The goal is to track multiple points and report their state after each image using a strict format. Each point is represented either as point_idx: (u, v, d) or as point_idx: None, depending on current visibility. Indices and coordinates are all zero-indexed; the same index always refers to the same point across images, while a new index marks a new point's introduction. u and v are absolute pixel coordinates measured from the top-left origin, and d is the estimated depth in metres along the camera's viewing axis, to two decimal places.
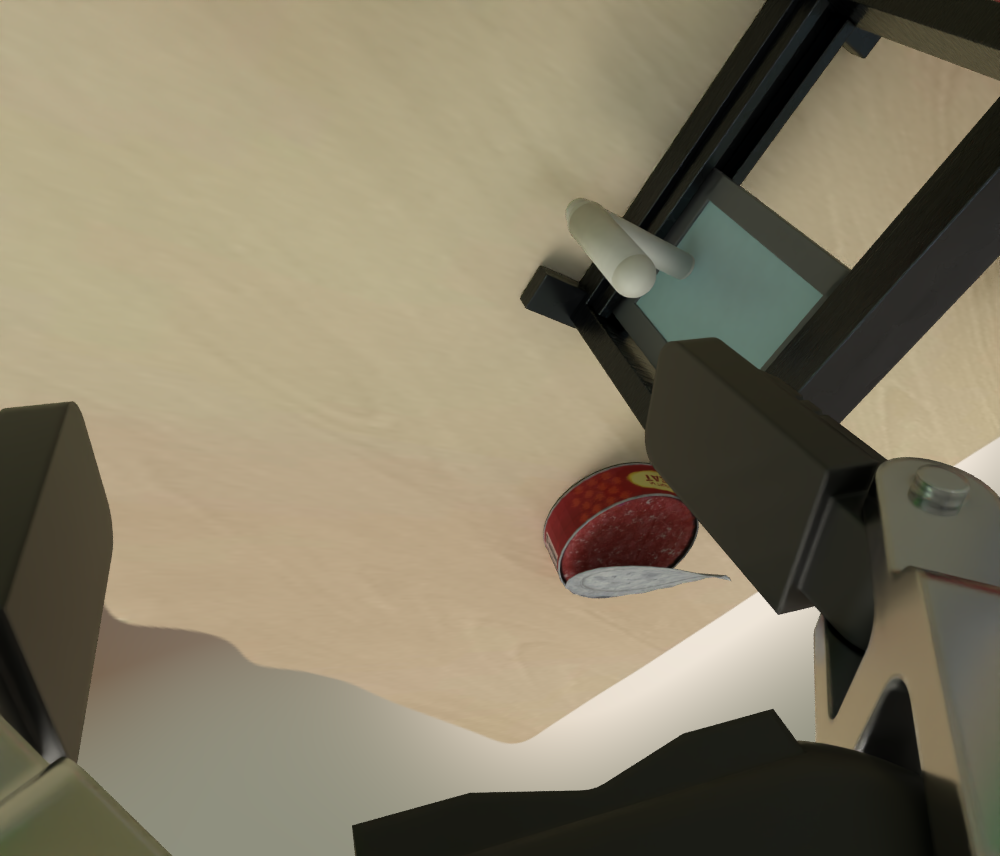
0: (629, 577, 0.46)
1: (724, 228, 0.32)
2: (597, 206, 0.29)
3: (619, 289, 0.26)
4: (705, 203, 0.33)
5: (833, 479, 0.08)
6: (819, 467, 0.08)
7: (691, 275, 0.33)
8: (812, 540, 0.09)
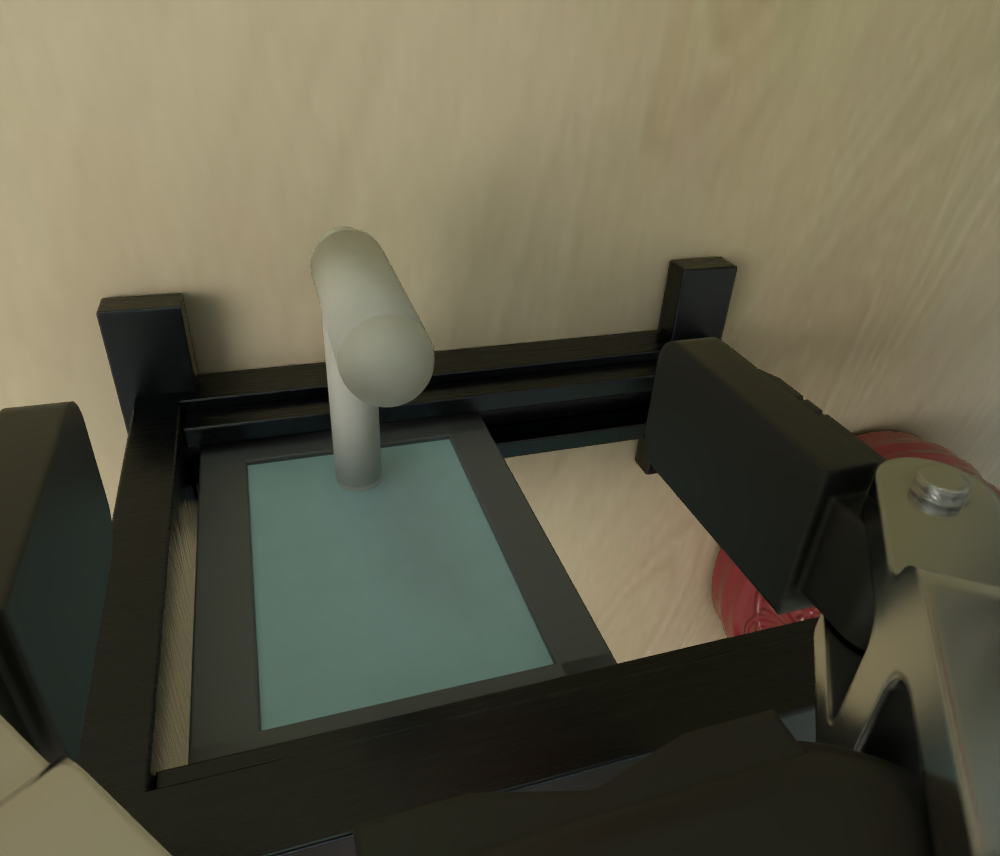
0: None
1: (448, 479, 0.20)
2: None
3: (353, 349, 0.12)
4: (442, 436, 0.21)
5: (833, 479, 0.08)
6: (819, 467, 0.08)
7: (361, 494, 0.19)
8: (812, 540, 0.09)
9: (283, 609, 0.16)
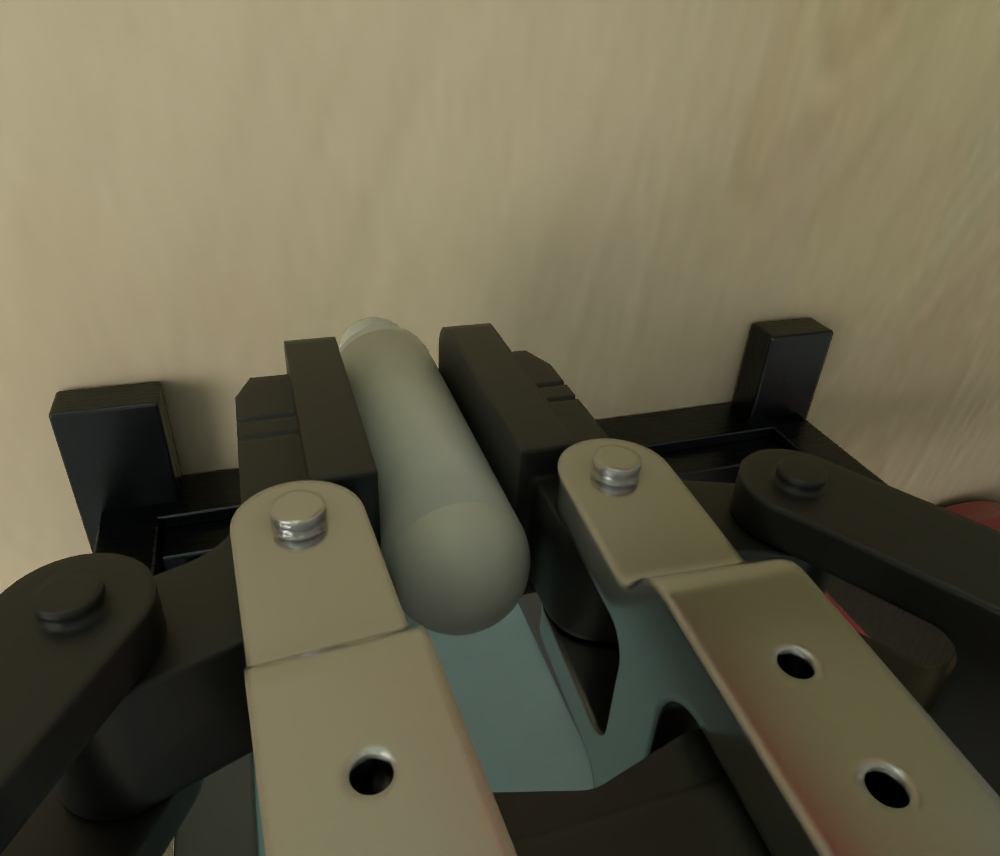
0: None
1: None
2: None
3: (413, 562, 0.07)
4: None
5: (531, 460, 0.08)
6: (519, 448, 0.08)
7: None
8: (524, 522, 0.09)
9: None
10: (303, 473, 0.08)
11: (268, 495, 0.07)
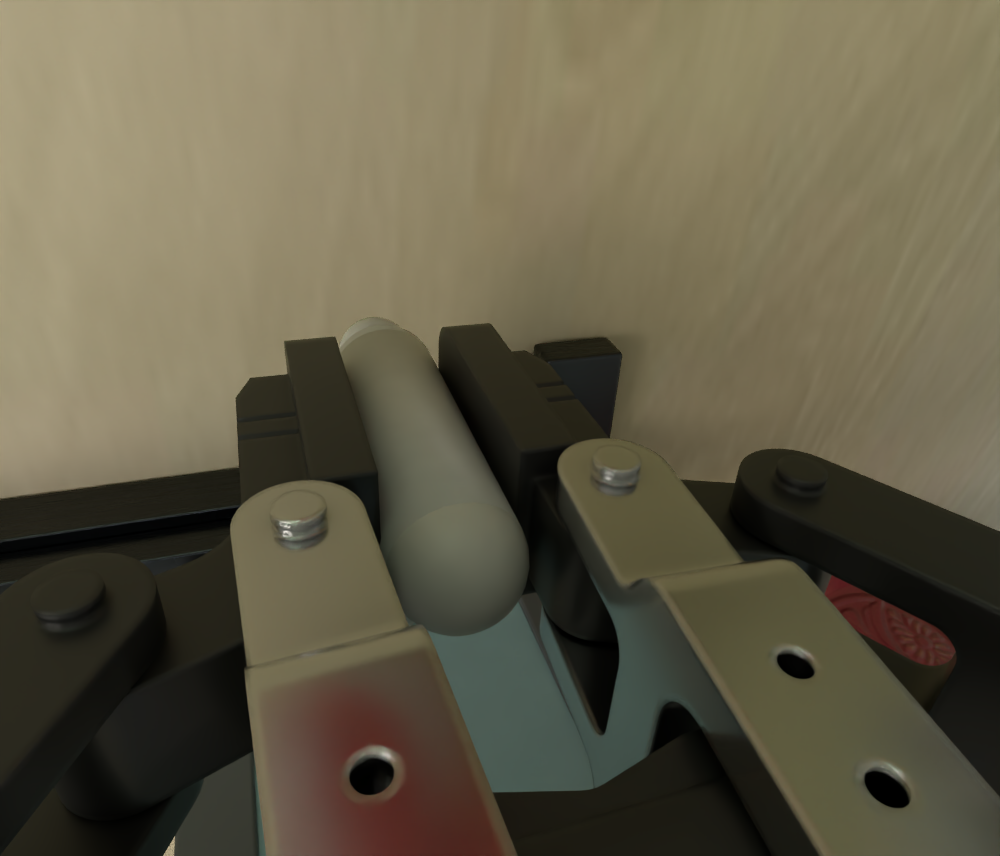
0: None
1: None
2: None
3: (412, 563, 0.07)
4: None
5: (531, 460, 0.08)
6: (519, 448, 0.08)
7: None
8: (524, 522, 0.09)
9: None
10: (303, 473, 0.08)
11: (268, 495, 0.07)
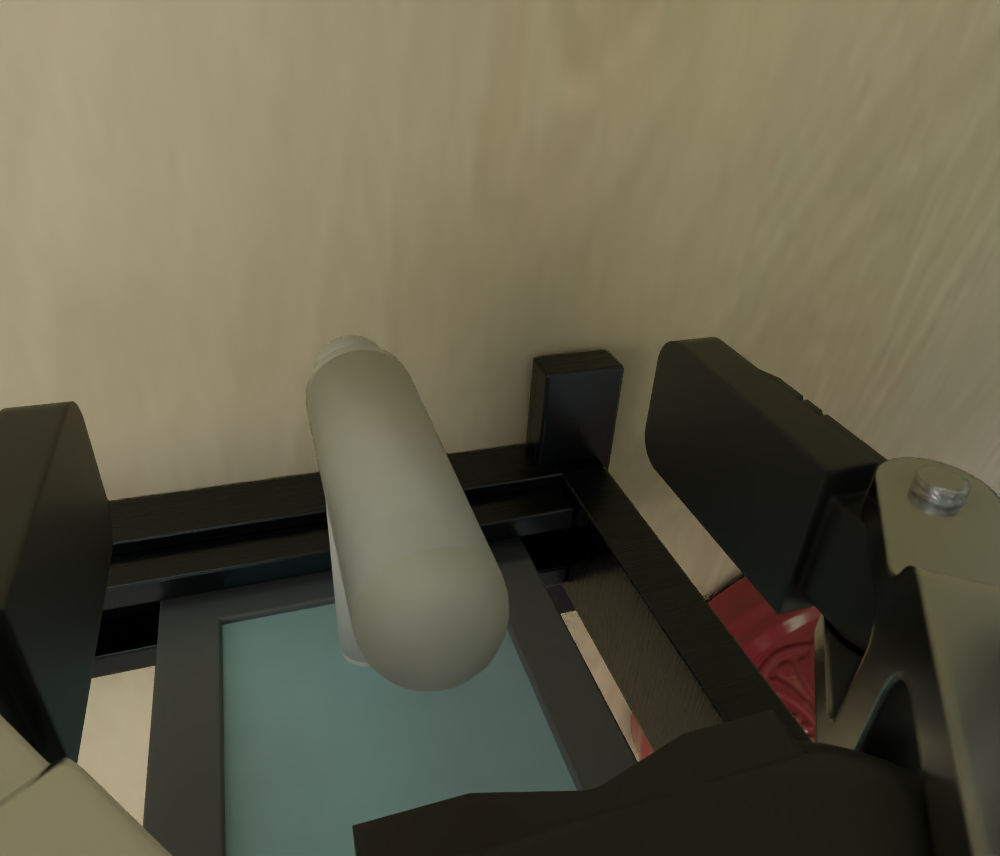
0: None
1: None
2: None
3: (380, 616, 0.07)
4: None
5: (833, 479, 0.08)
6: (819, 467, 0.08)
7: (373, 671, 0.14)
8: (812, 540, 0.09)
9: None
10: None
11: None
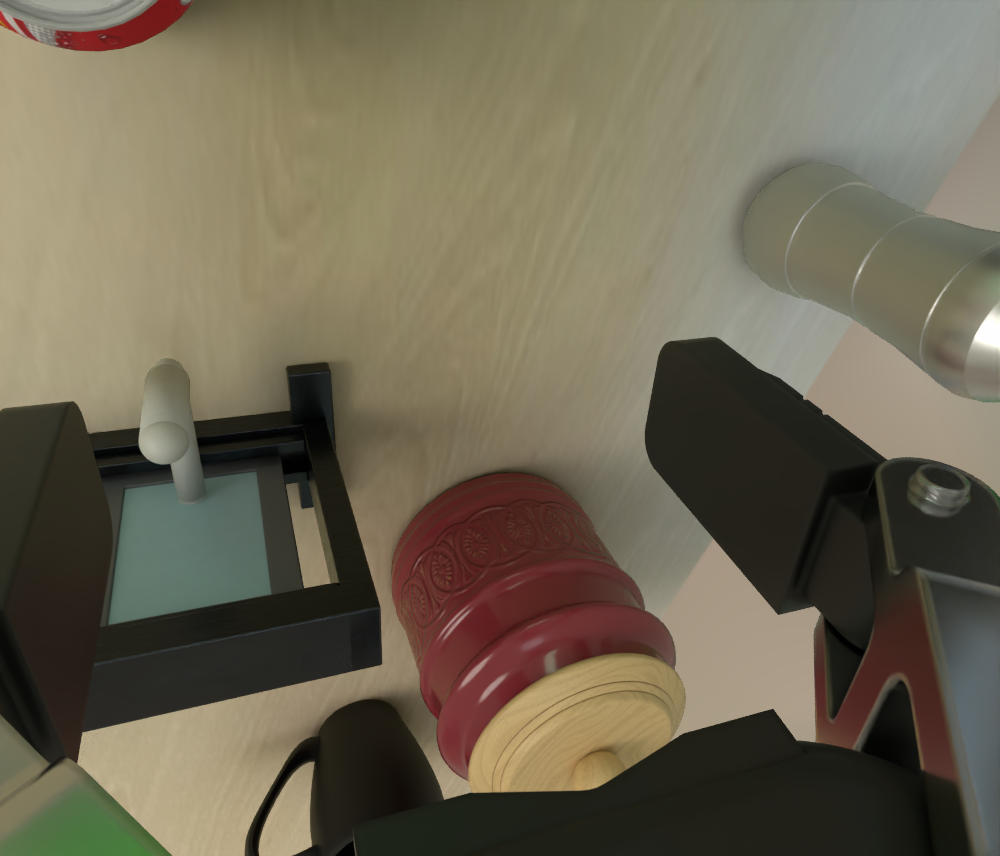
0: None
1: (247, 496, 0.33)
2: (187, 379, 0.29)
3: (143, 438, 0.25)
4: (251, 470, 0.35)
5: (833, 479, 0.08)
6: (819, 467, 0.08)
7: (191, 506, 0.32)
8: (812, 540, 0.09)
9: (130, 569, 0.29)
10: None
11: None
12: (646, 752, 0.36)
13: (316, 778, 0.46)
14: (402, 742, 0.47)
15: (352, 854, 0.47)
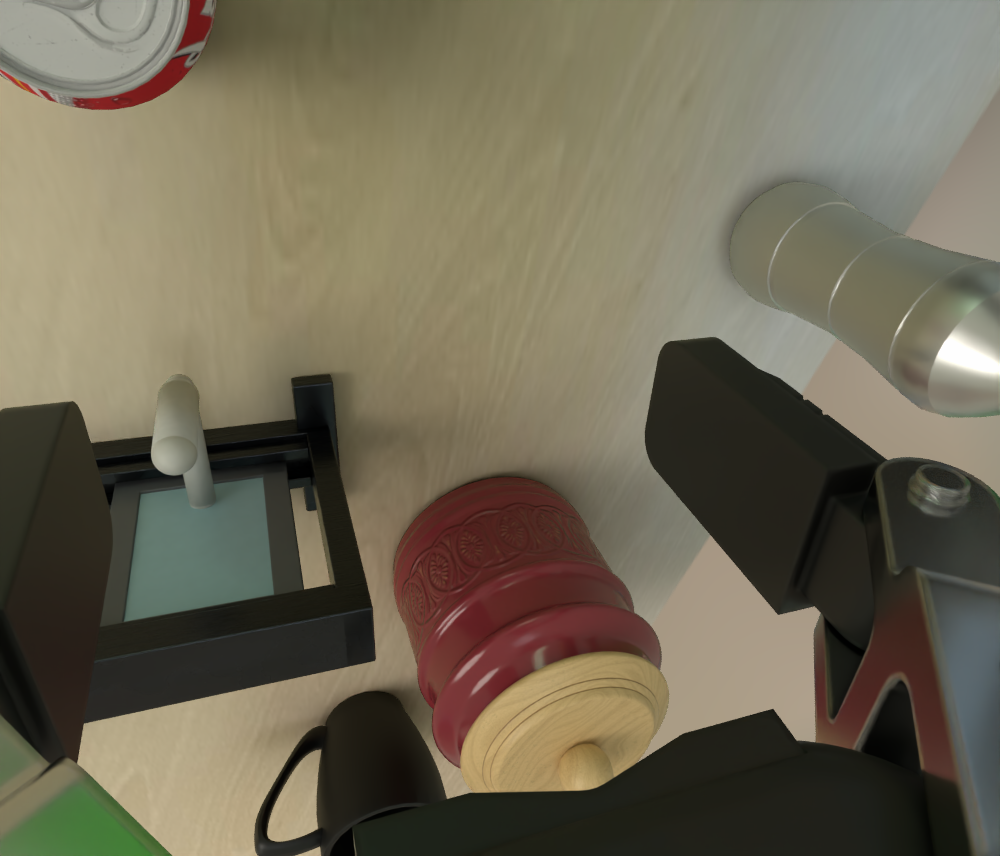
0: None
1: (254, 501, 0.35)
2: (197, 394, 0.31)
3: (155, 452, 0.27)
4: (258, 476, 0.37)
5: (833, 479, 0.08)
6: (819, 467, 0.08)
7: (201, 510, 0.35)
8: (812, 540, 0.09)
9: (145, 570, 0.31)
10: None
11: None
12: (630, 745, 0.37)
13: (322, 765, 0.48)
14: (404, 732, 0.49)
15: None
